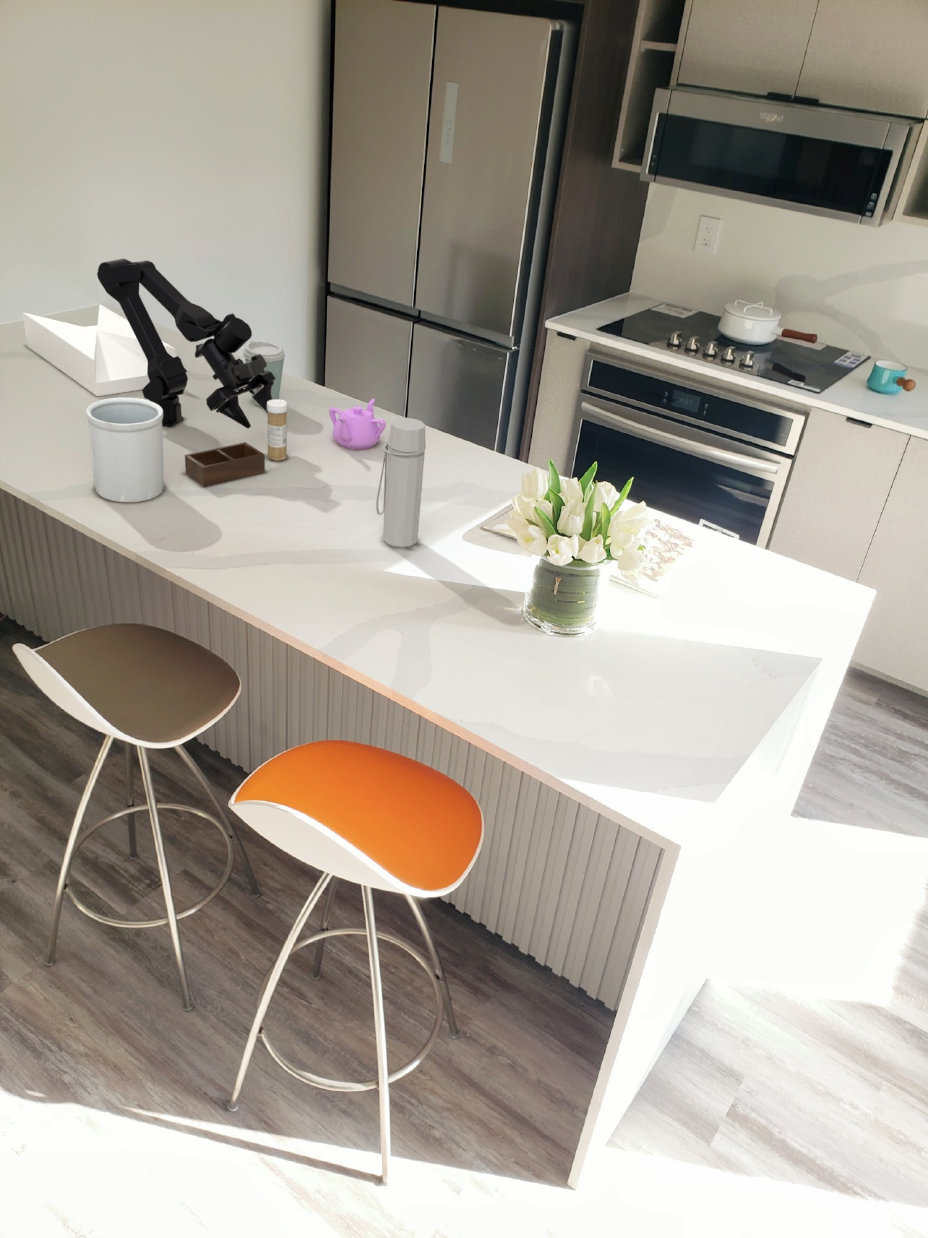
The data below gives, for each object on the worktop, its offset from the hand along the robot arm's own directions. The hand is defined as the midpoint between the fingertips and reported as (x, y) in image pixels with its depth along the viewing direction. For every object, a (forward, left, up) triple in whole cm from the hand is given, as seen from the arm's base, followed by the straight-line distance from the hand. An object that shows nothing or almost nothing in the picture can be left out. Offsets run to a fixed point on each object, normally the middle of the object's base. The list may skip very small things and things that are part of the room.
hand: (262, 421), depth 232 cm
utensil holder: (-17, -30, -8) cm, 35 cm away
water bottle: (+41, -29, -8) cm, 51 cm away
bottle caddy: (-3, -14, -8) cm, 16 cm away
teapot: (+17, +17, -8) cm, 25 cm away
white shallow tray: (-63, +37, -8) cm, 73 cm away
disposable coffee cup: (-13, +31, -8) cm, 34 cm away
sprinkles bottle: (+4, -1, -8) cm, 9 cm away
